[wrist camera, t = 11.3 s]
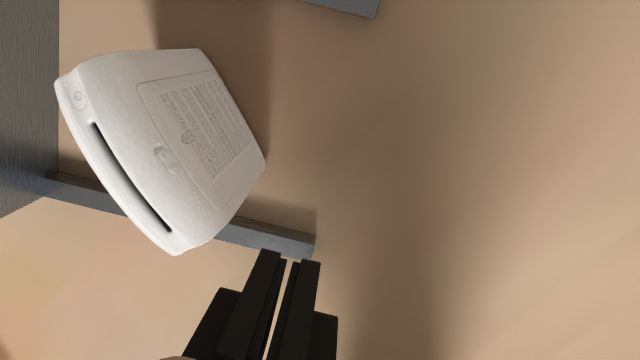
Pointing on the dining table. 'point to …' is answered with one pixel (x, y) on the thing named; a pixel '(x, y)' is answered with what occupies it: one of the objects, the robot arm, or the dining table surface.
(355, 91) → the dining table surface
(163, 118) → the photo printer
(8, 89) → the motor mount
